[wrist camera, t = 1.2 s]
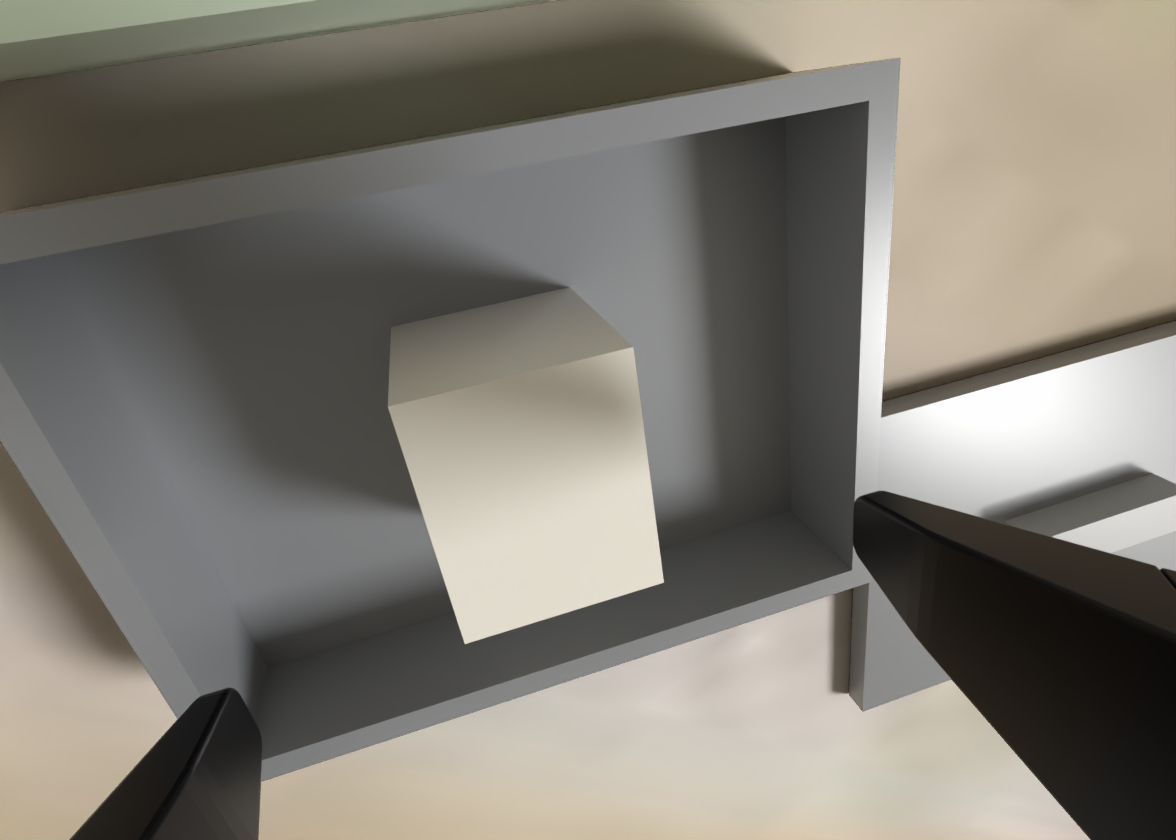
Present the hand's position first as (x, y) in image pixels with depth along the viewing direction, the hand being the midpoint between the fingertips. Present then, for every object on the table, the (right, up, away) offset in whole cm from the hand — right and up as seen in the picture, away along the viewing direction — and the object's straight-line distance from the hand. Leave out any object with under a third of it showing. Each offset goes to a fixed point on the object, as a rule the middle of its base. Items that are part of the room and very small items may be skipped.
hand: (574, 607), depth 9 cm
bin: (-2, +3, +7) cm, 8 cm away
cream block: (-2, +3, +6) cm, 7 cm away
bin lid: (+17, 0, +14) cm, 22 cm away
